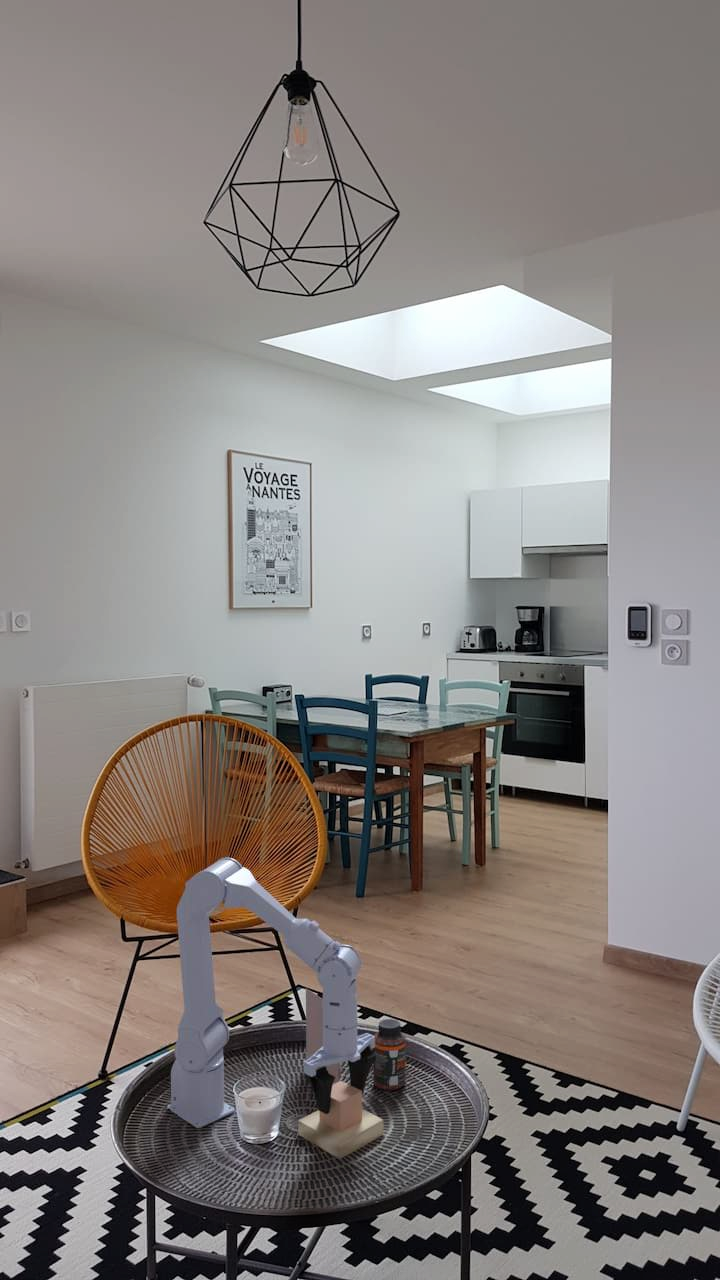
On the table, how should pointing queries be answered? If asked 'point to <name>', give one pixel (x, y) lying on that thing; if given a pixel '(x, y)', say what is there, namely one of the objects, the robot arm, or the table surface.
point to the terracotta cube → (343, 1107)
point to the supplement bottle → (389, 1056)
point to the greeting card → (317, 1030)
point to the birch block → (340, 1133)
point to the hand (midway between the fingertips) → (340, 1102)
